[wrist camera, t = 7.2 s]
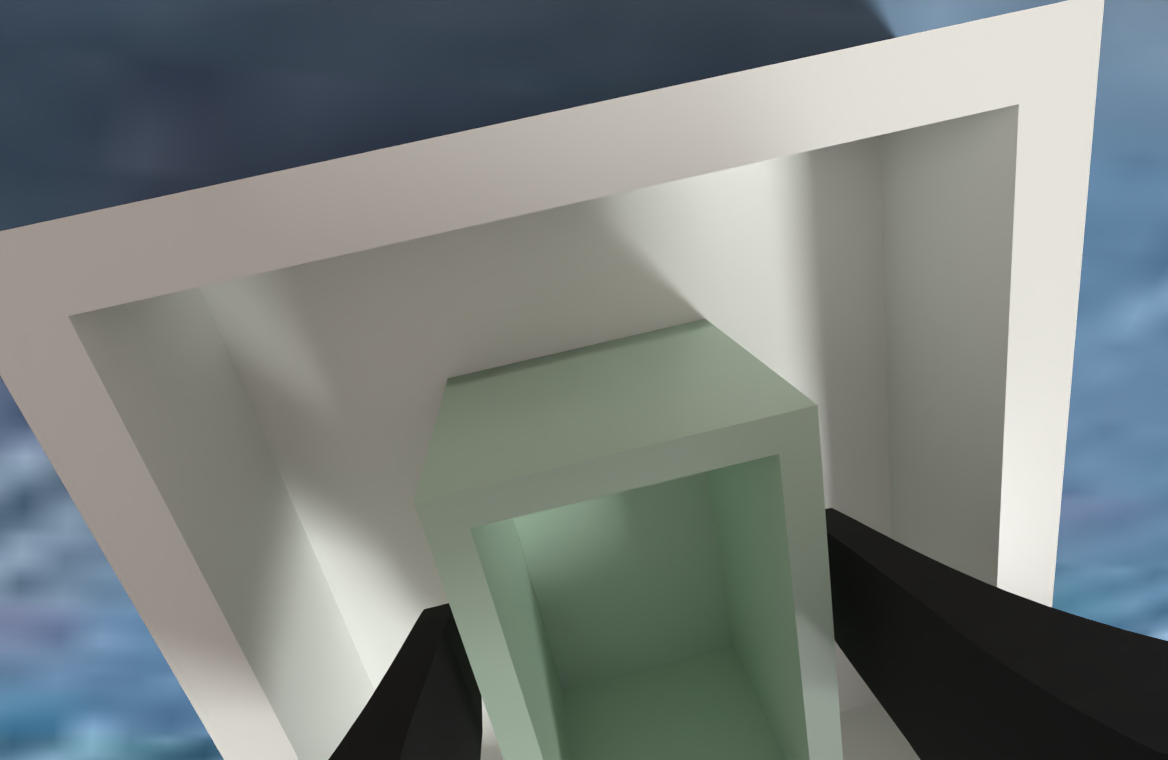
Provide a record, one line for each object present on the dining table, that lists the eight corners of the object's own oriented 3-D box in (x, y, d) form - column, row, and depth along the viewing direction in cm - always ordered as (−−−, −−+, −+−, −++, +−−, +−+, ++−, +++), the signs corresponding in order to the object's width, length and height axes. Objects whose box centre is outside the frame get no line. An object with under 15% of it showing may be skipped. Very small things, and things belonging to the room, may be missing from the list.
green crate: (749, 641, 16) (848, 836, 11) (543, 694, 16) (558, 915, 11) (705, 318, 13) (817, 404, 8) (447, 378, 13) (413, 502, 8)
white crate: (914, 690, 19) (1031, 840, 15) (407, 824, 18) (377, 1022, 14) (904, 50, 13) (1104, -8, 8) (131, 218, 12) (-74, 246, 8)
